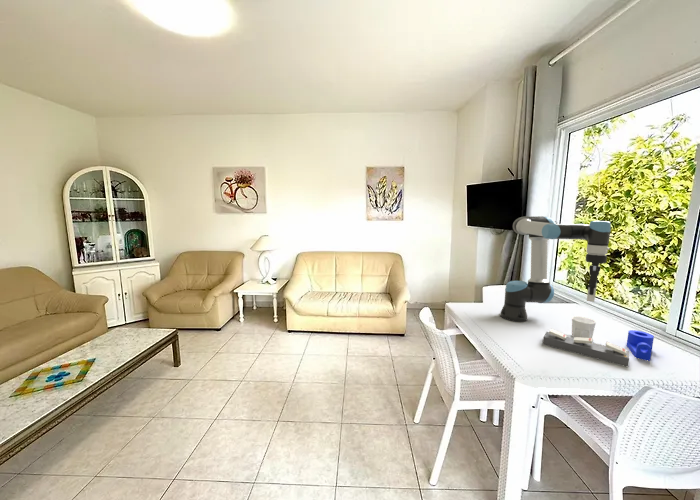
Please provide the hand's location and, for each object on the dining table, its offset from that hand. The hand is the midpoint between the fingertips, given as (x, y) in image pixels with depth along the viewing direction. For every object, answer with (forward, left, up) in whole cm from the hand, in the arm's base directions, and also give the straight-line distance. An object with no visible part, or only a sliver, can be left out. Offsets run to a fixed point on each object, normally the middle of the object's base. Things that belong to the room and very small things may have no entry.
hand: (591, 298), depth 140 cm
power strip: (-1, -1, -27) cm, 27 cm away
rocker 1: (-11, -1, -22) cm, 25 cm away
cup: (-3, +19, -27) cm, 33 cm away
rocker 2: (-1, -1, -22) cm, 22 cm away
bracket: (+20, +18, -27) cm, 38 cm away
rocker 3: (+11, -1, -22) cm, 24 cm away
